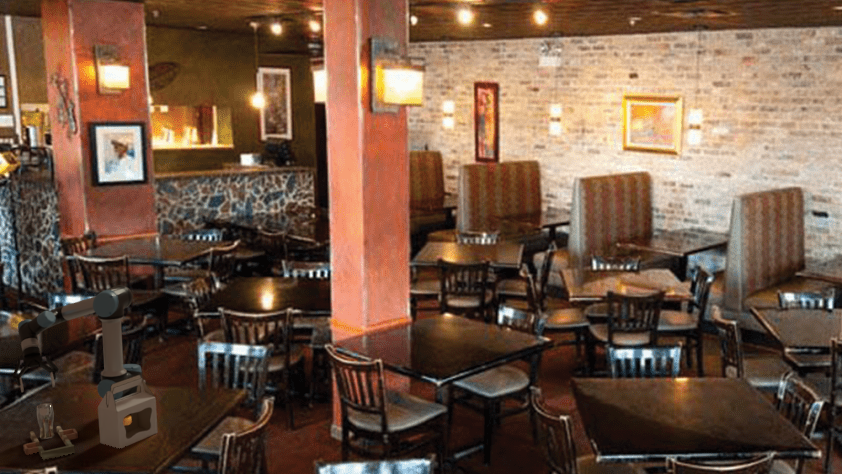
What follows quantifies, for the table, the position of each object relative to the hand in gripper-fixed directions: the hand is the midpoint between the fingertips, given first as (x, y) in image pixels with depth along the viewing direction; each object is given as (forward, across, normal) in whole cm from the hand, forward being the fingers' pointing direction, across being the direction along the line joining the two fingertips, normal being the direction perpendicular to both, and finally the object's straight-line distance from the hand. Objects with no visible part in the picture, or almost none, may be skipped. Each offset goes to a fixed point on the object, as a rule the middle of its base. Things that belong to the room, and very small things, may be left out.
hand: (38, 388), depth 394 cm
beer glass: (+23, 0, -4) cm, 24 cm away
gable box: (+39, -32, +12) cm, 52 cm away
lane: (+31, 0, +4) cm, 32 cm away
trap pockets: (+30, 0, +3) cm, 30 cm away
